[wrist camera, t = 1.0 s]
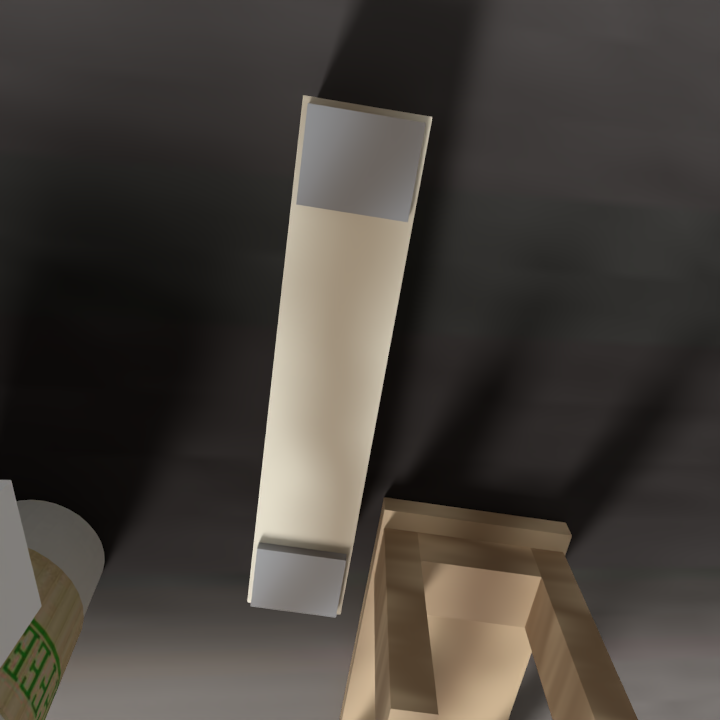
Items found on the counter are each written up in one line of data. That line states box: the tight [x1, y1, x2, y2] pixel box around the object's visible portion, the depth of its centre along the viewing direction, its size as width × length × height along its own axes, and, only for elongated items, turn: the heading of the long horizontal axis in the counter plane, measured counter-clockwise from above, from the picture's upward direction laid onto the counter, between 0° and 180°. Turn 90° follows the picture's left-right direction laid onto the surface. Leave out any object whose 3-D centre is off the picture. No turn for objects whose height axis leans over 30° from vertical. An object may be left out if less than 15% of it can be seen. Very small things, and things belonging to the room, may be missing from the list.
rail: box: [247, 95, 432, 617], centre depth 24 cm, size 4×20×5 cm, turn 171°
